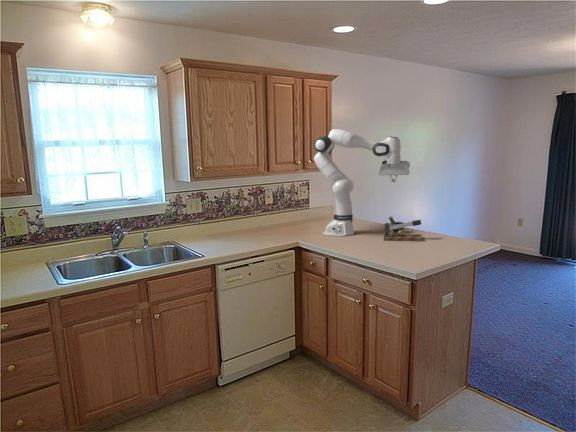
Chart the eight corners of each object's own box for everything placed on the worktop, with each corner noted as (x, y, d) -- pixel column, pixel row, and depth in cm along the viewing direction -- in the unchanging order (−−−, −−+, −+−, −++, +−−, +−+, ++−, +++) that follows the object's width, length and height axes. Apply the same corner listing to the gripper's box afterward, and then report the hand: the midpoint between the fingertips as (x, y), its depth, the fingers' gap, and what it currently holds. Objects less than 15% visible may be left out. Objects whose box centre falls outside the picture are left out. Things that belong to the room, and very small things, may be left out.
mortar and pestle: (401, 231, 296) (401, 214, 294) (406, 233, 287) (406, 216, 285) (386, 232, 294) (386, 215, 292) (391, 234, 285) (391, 217, 283)
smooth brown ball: (397, 236, 270) (397, 230, 269) (397, 235, 274) (397, 228, 273) (404, 236, 269) (404, 230, 268) (404, 235, 273) (404, 228, 272)
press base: (383, 240, 269) (383, 225, 267) (384, 236, 280) (384, 222, 279) (422, 241, 263) (422, 225, 261) (421, 237, 274) (421, 222, 273)
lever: (389, 230, 271) (388, 226, 271) (389, 229, 275) (388, 225, 274) (421, 224, 265) (421, 220, 265) (421, 223, 269) (420, 219, 269)
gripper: (409, 160, 275) (409, 181, 277) (378, 161, 280) (378, 181, 282) (410, 160, 269) (409, 182, 271) (378, 161, 274) (378, 182, 276)
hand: (393, 181), depth 276 cm, fingers closed
